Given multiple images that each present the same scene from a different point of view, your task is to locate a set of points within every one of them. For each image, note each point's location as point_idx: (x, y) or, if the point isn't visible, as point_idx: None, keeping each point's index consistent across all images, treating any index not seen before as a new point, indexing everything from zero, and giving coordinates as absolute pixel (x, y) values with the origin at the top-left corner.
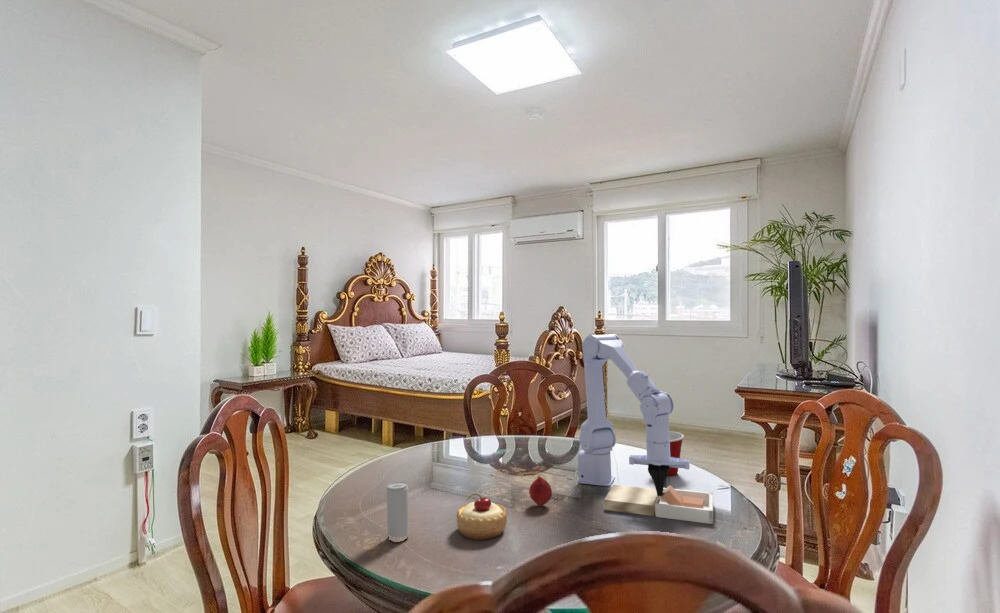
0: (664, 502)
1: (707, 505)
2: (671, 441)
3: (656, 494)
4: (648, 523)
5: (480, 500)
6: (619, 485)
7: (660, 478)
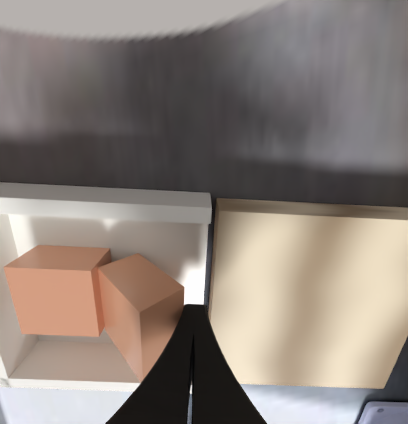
0: None
1: None
2: None
3: None
4: (236, 111)
5: None
6: (359, 386)
7: (175, 388)
